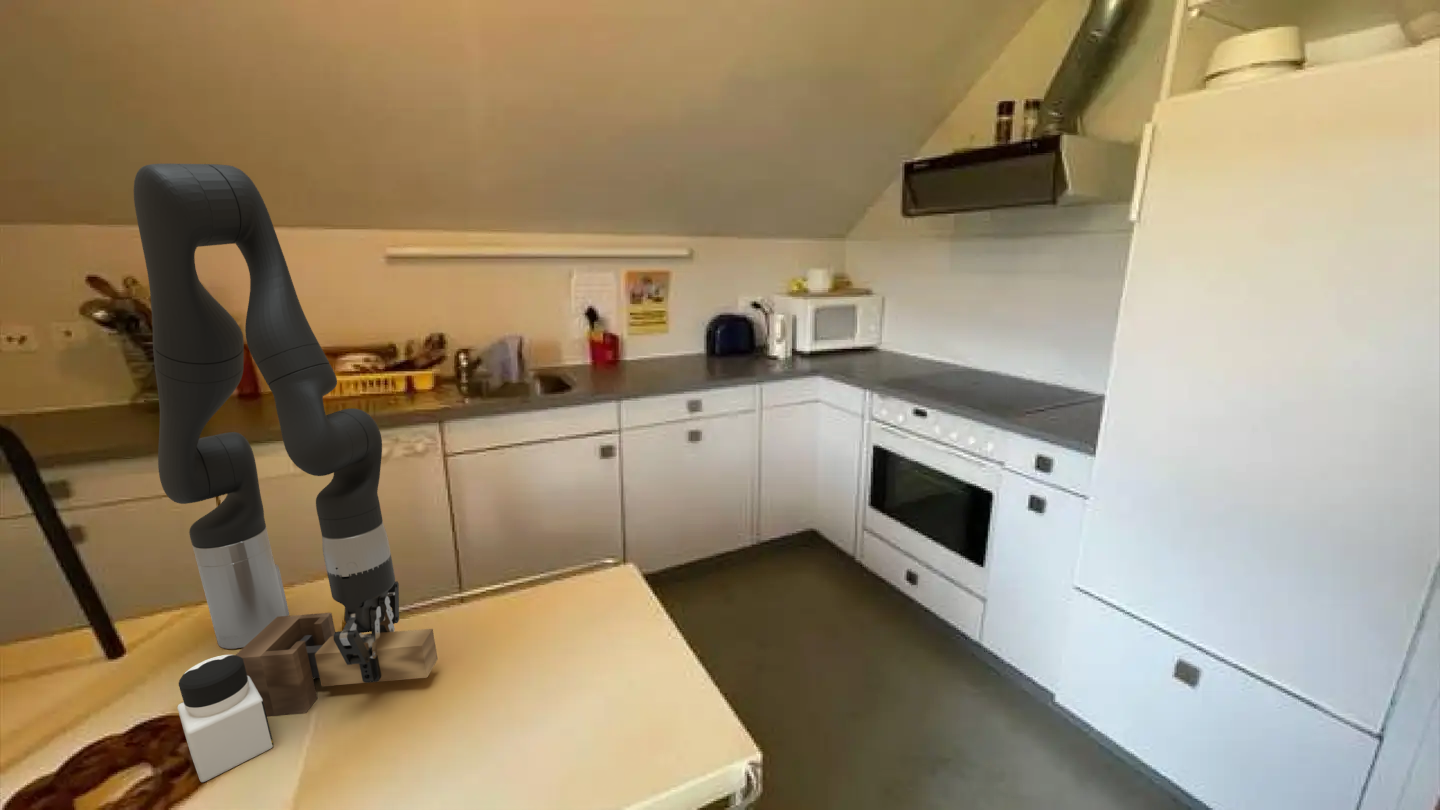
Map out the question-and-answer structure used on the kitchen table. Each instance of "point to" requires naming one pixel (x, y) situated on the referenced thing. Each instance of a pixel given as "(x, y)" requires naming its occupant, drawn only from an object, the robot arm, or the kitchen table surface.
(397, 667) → the oak rail
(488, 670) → the kitchen table surface
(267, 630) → the wooden u-shaped block
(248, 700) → the medicine bottle
